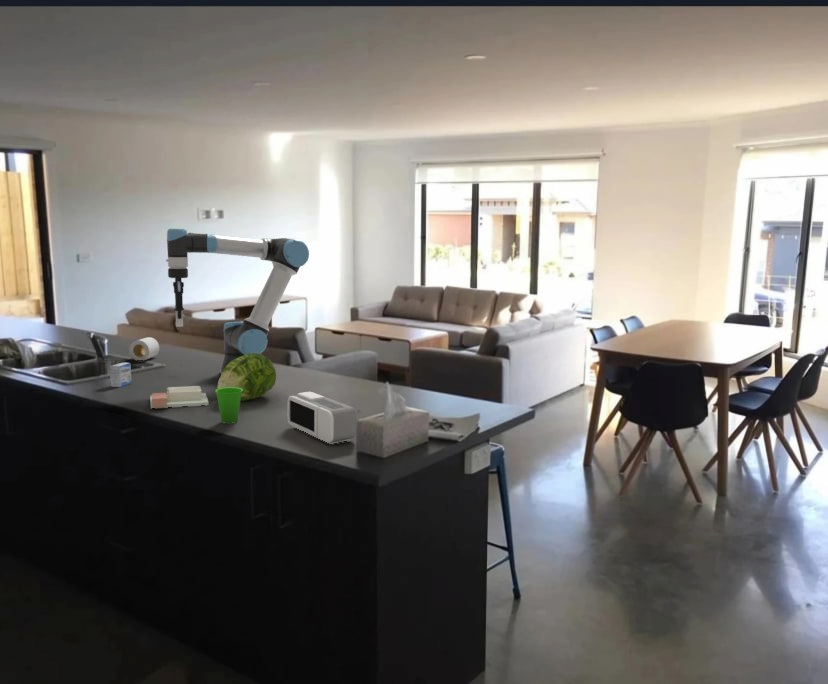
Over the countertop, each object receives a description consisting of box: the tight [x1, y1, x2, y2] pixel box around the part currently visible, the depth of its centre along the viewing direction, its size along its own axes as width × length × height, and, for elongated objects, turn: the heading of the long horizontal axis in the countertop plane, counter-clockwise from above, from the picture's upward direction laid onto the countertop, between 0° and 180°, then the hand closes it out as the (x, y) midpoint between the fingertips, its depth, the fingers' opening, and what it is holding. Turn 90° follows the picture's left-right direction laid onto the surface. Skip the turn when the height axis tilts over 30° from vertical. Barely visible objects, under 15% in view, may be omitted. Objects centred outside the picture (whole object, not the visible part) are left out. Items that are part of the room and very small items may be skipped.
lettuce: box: [217, 353, 277, 402], centre depth 277 cm, size 17×23×17 cm
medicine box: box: [109, 362, 132, 388], centre depth 297 cm, size 8×4×9 cm, turn 169°
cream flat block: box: [166, 385, 203, 401], centre depth 275 cm, size 12×9×3 cm
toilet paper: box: [128, 336, 160, 362], centre depth 352 cm, size 10×10×10 cm
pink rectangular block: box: [151, 392, 167, 407], centre depth 264 cm, size 5×9×3 cm, turn 20°
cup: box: [214, 387, 243, 424], centre depth 247 cm, size 9×9×11 cm
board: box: [149, 392, 209, 409], centre depth 272 cm, size 20×15×1 cm
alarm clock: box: [286, 391, 357, 445], centre depth 234 cm, size 27×9×12 cm, turn 38°
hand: (179, 326), depth 295 cm, fingers closed
